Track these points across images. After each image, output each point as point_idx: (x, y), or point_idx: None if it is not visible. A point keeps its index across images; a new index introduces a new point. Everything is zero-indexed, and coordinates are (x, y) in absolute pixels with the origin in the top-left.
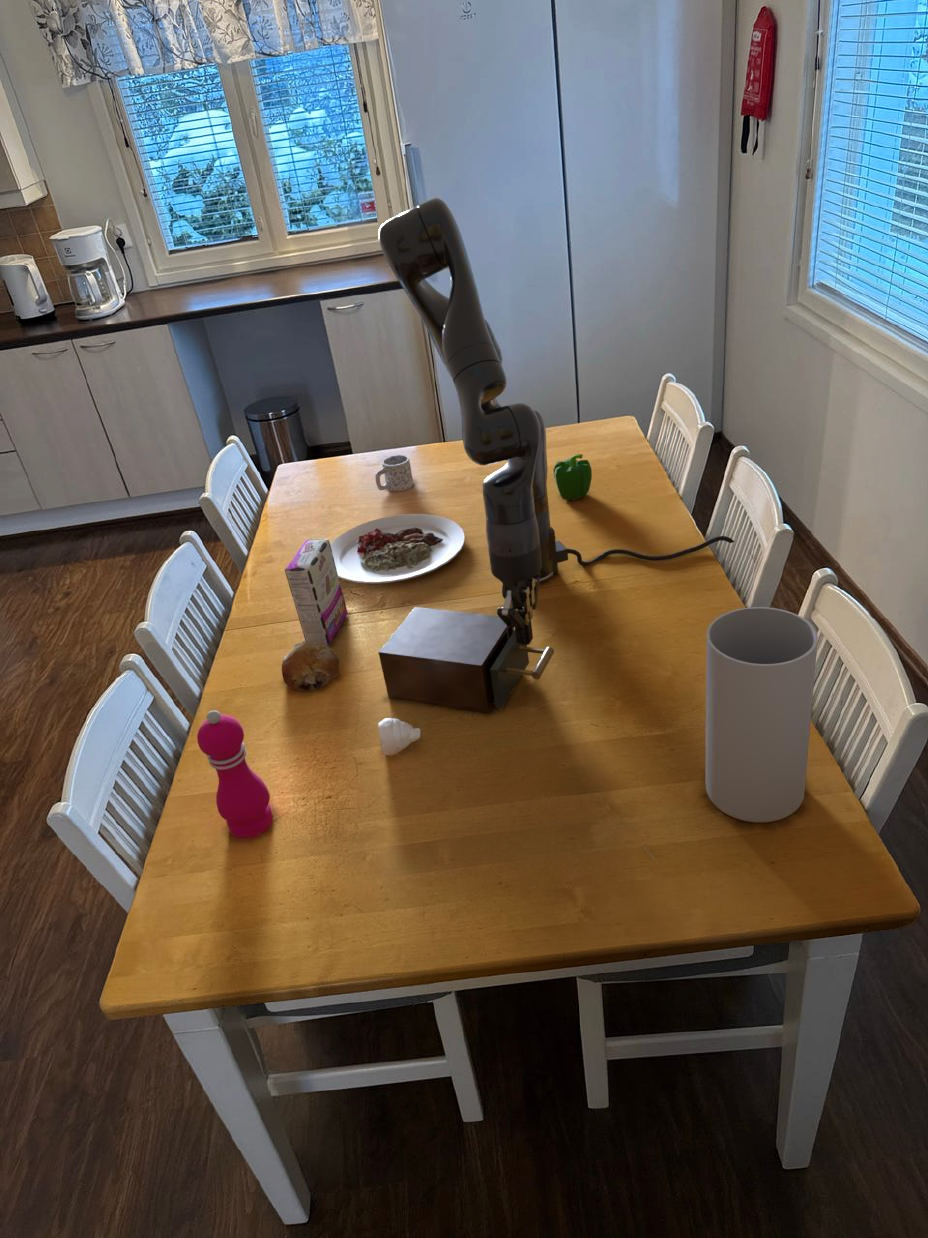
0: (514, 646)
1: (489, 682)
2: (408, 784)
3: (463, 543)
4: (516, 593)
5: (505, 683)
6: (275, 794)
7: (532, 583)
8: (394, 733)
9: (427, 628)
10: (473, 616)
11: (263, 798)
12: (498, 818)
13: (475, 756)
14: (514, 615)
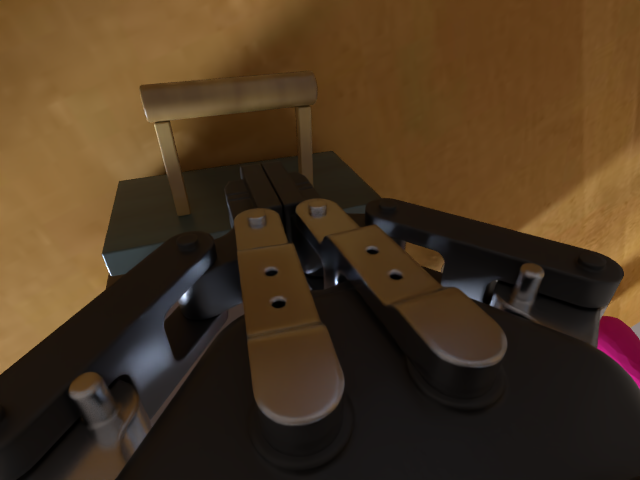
0: (228, 222)
1: None
2: (523, 202)
3: None
4: (615, 371)
5: (313, 175)
6: None
7: (338, 374)
8: (497, 280)
9: None
10: (165, 402)
11: (617, 329)
12: (616, 2)
13: (461, 133)
14: (572, 253)
